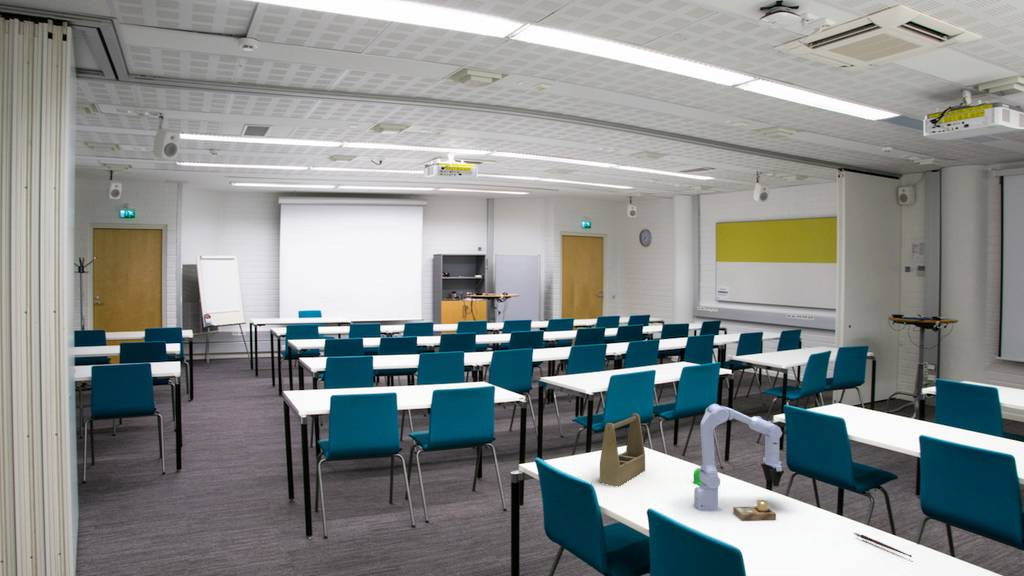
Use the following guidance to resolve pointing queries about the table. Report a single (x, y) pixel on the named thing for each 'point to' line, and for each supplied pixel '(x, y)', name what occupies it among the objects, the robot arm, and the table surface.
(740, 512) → the pocket board
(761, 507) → the cylinder
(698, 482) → the mechanical part
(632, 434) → the caddy
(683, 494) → the table surface
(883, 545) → the pen
